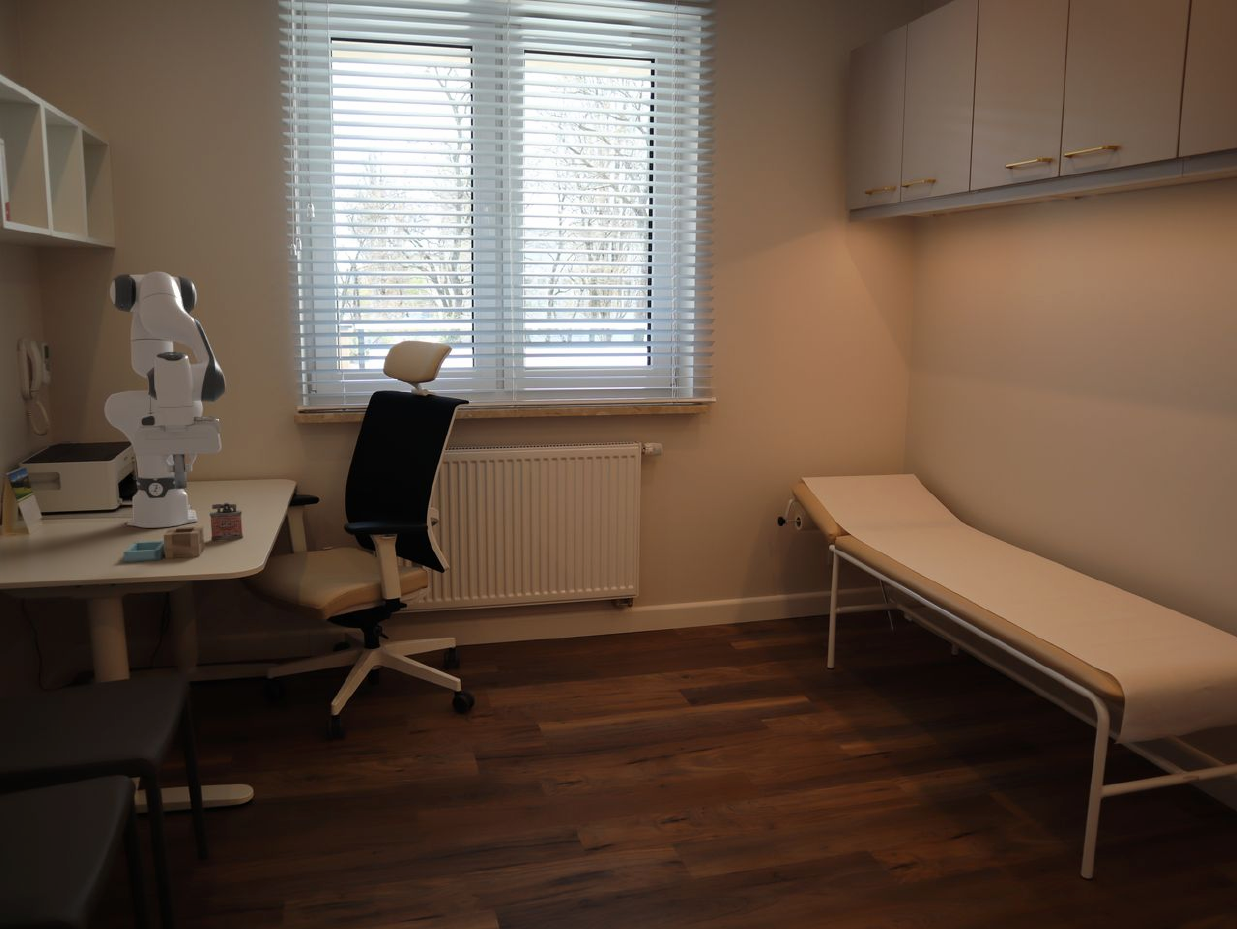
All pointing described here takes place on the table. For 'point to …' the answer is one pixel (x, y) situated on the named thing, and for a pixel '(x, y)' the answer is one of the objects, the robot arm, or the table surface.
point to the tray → (145, 551)
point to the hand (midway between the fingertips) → (180, 471)
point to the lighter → (226, 522)
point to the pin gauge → (179, 471)
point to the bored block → (184, 542)
